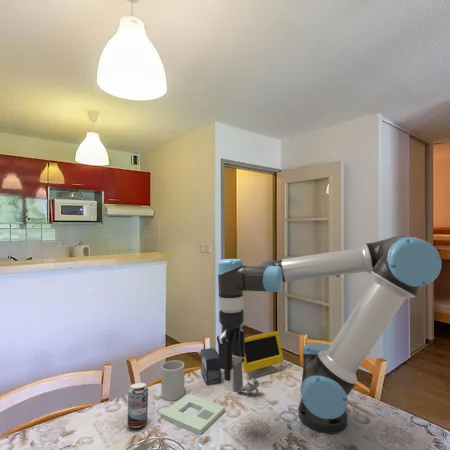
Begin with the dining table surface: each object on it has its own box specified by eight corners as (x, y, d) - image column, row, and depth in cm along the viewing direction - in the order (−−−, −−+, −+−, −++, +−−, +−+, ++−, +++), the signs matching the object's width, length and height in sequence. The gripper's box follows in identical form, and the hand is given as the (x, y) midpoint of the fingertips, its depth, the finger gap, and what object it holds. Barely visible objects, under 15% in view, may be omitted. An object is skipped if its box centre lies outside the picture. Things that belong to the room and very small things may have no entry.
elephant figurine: (241, 386, 119) (262, 380, 116) (242, 402, 114) (265, 397, 112) (230, 378, 112) (252, 372, 110) (231, 395, 108) (255, 390, 106)
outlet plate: (225, 410, 102) (225, 406, 102) (200, 434, 90) (200, 429, 90) (187, 397, 111) (187, 393, 111) (160, 417, 99) (160, 413, 99)
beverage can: (127, 433, 91) (126, 393, 92) (128, 418, 99) (127, 381, 99) (148, 429, 93) (148, 389, 93) (147, 415, 100) (147, 378, 100)
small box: (200, 373, 129) (199, 348, 129) (214, 371, 131) (214, 347, 131) (205, 385, 119) (205, 359, 119) (221, 383, 121) (221, 356, 121)
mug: (184, 400, 109) (184, 369, 109) (160, 401, 108) (160, 370, 108) (185, 383, 121) (184, 355, 121) (163, 384, 120) (163, 356, 120)
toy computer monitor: (245, 381, 122) (245, 341, 122) (235, 373, 129) (235, 336, 129) (284, 369, 132) (284, 333, 132) (273, 362, 139) (272, 328, 139)
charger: (242, 386, 93) (241, 356, 93) (236, 392, 90) (235, 361, 90) (231, 383, 95) (230, 354, 96) (224, 389, 92) (223, 358, 92)
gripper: (234, 302, 102) (236, 372, 102) (205, 315, 88) (207, 396, 87) (254, 304, 98) (256, 377, 98) (227, 318, 84) (229, 403, 83)
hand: (233, 386), depth 93 cm, fingers closed on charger, 4 cm apart
